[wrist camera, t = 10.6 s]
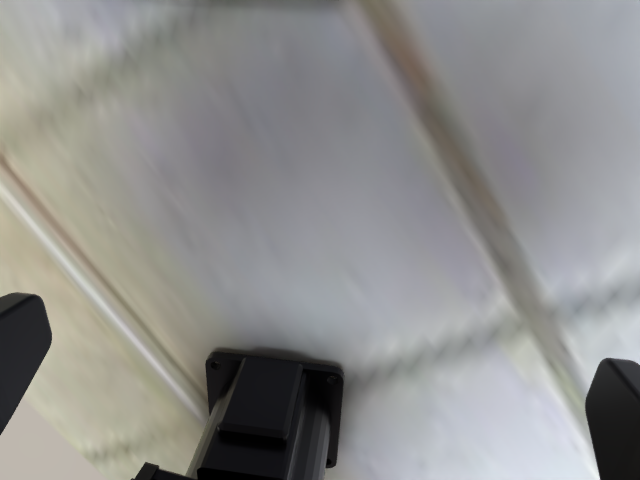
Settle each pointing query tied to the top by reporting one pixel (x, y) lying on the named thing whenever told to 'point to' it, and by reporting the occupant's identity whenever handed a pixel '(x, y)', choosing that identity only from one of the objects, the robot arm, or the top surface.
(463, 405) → the top surface
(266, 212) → the top surface
